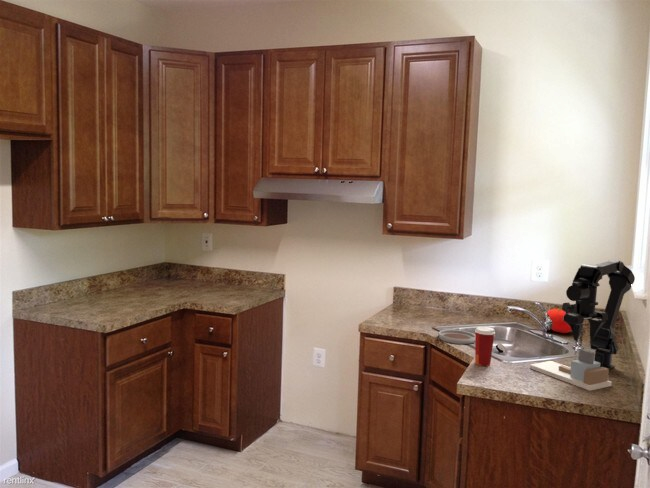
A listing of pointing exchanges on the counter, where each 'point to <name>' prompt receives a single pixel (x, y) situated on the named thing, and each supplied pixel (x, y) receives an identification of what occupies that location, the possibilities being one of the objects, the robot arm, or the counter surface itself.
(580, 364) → the cabinet block
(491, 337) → the paper cup
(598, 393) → the counter surface
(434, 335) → the counter surface
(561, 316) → the red bell pepper
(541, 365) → the mounting board
